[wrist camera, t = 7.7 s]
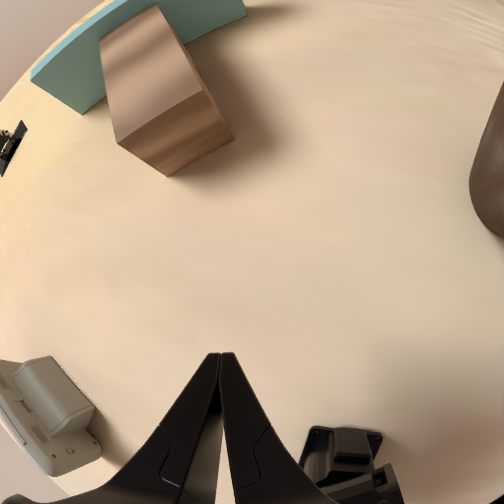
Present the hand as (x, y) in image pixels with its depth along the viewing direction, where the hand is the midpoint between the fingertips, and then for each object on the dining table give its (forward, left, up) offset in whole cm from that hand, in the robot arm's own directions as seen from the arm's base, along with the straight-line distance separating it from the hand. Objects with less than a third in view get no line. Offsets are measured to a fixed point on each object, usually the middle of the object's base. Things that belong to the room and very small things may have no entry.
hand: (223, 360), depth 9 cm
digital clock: (-17, +23, -14) cm, 32 cm away
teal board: (+29, +21, -13) cm, 38 cm away
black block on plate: (+15, +48, -14) cm, 52 cm away
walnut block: (+19, +13, -14) cm, 27 cm away
